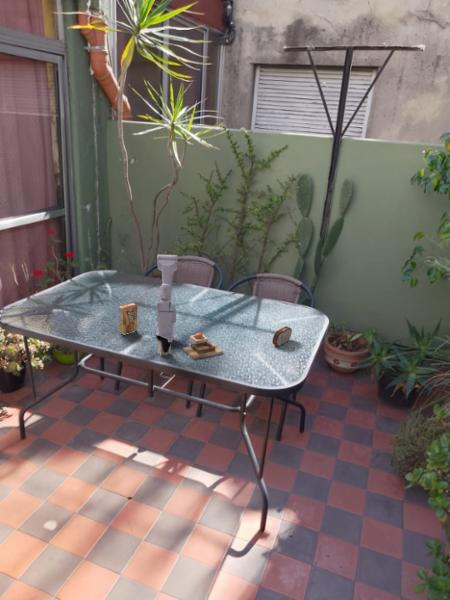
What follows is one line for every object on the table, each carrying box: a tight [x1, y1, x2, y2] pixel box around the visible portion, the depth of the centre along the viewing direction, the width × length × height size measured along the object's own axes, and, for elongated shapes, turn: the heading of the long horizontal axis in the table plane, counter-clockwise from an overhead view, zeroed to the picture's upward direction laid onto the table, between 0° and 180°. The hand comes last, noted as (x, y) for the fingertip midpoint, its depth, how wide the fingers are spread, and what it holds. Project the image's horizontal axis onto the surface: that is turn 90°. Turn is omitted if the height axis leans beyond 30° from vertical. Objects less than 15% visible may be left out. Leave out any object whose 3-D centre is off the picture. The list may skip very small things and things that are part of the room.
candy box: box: [118, 302, 138, 334], centre depth 234 cm, size 9×4×15 cm, turn 137°
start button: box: [194, 332, 204, 340], centre depth 229 cm, size 4×4×4 cm
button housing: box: [189, 334, 209, 344], centre depth 229 cm, size 7×7×3 cm
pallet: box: [182, 340, 224, 361], centre depth 220 cm, size 12×16×3 cm
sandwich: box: [272, 325, 293, 347], centre depth 233 cm, size 15×3×8 cm, turn 141°
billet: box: [157, 338, 172, 357], centre depth 215 cm, size 4×5×7 cm
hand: (164, 350), depth 215 cm, fingers closed on billet, 4 cm apart
